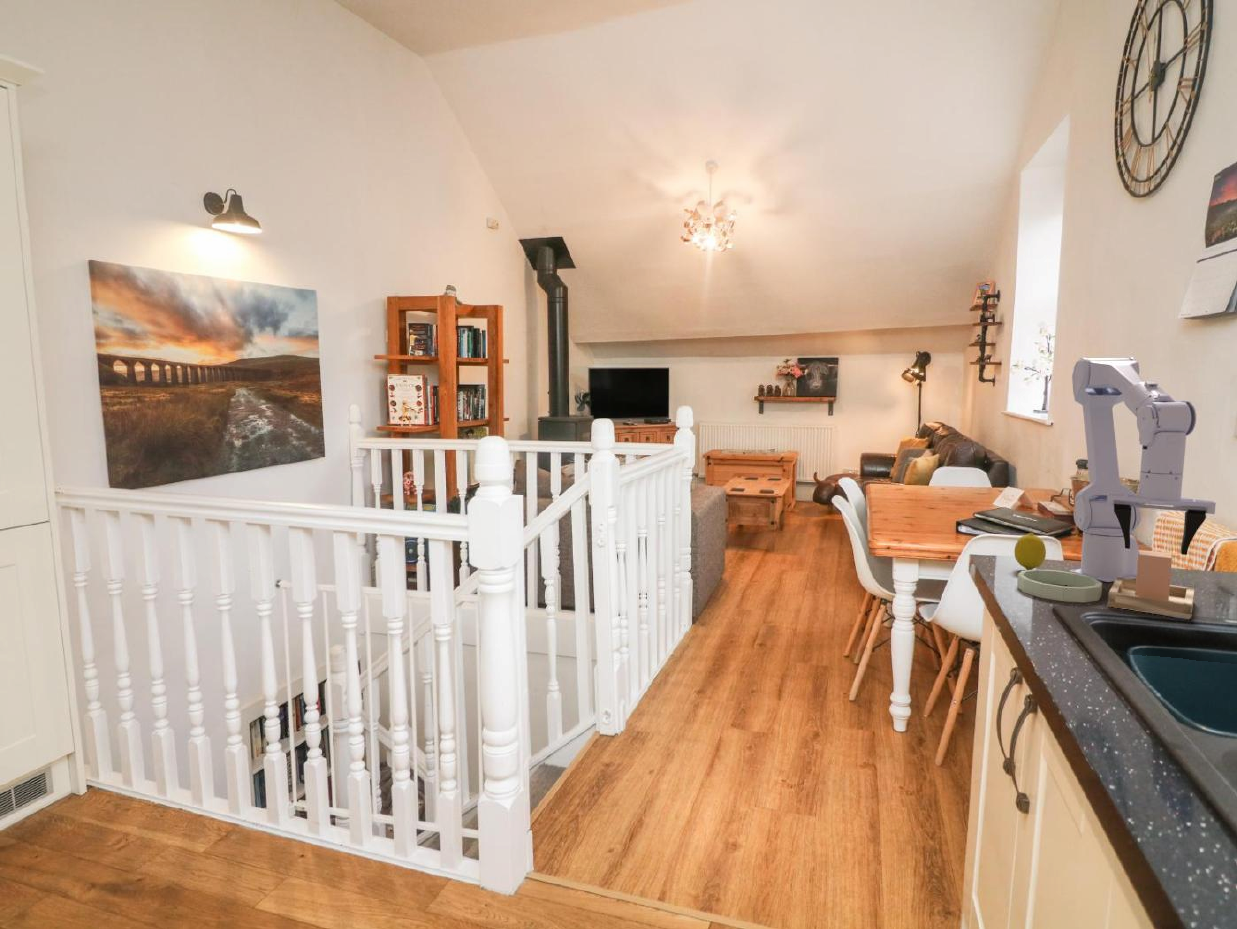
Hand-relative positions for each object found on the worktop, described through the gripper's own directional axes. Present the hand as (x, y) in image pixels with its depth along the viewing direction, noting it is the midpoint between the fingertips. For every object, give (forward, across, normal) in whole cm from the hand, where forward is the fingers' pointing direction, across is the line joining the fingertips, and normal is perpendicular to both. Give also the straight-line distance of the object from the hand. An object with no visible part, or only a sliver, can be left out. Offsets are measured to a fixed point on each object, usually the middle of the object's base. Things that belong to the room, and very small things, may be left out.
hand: (1154, 550), depth 118 cm
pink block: (+8, 0, 0) cm, 9 cm away
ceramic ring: (+10, -14, 0) cm, 17 cm away
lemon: (+10, -20, +14) cm, 26 cm away
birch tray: (+10, 0, 0) cm, 10 cm away
